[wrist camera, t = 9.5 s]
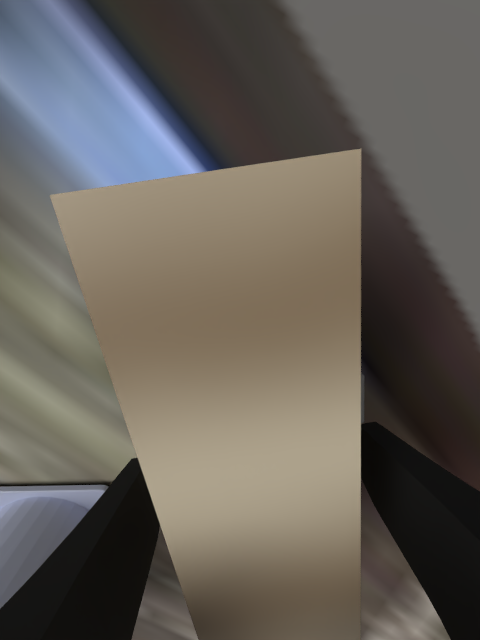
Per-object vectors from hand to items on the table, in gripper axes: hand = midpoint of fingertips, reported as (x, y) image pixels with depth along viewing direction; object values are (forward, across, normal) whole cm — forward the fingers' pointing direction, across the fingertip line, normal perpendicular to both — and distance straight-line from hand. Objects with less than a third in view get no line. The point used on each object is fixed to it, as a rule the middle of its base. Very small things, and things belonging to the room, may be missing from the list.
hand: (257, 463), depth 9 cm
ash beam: (+2, 0, 0) cm, 2 cm away
